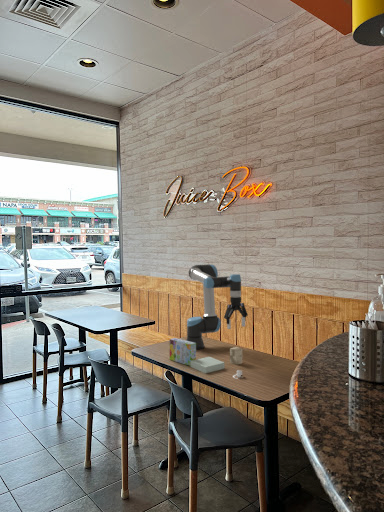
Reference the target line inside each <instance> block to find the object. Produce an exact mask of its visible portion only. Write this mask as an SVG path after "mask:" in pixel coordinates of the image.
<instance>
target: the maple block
mask: <svg viewBox="0 0 384 512" xmlns="http://www.w3.org/2000/svg"><path fill="white" fill-rule="evenodd" d="M229 363H230V364H232V365H235V366H238V365H241V364H243V348H240V347H238V346H234V347H231V348H229Z"/></svg>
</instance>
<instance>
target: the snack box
mask: <svg viewBox="0 0 384 512" xmlns="http://www.w3.org/2000/svg"><path fill="white" fill-rule="evenodd" d="M169 360H170V361H172V362H176V363H180V364H182V365H186V366H190V367H191V361H192V360H197V350H196V343H194V342H190V341H186V340H185V339H181V338H177V337H172V338H169Z"/></svg>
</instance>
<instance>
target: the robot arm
mask: <svg viewBox="0 0 384 512" xmlns="http://www.w3.org/2000/svg"><path fill="white" fill-rule="evenodd" d="M188 277H189V278H190V279H191V280H193V281H198V282H200V283H202V290H203V294H202V295H203V308H204V310H203V311H204V313H203V315H202V316H191V317H189V318H187V320H186V338H185V339H186V341H190V342H194V343H196V351H198V350H202V349H204V348H205V343H204V340H203V334H210V333H211V334H212V333H218V332H219V330H220V328H221V318H220V317H218V314H217V313H216V303H215V289H219V288H229V297H230V298H229V302H230V304H227V307H226V311H225V313H224V315H223V318H224V319H225V320H226V326H227V328H226V329H228V330H231V329H232V326H231V317H232V316H233V313H234V312H236V311H238V312H239V313H240V315H241V327H246V321H247V320H246V319H247V317H248V316H249V314H248V311H247V309H246V307H245V303H244V302H242V277H241V274H240V273H239V274H238V273H233V274H229V275H228V276H219V274H218V268H217V267H216V265H214V264H194V265H193V266H191V267H190V268H189V270H188Z"/></svg>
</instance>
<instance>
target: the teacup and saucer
mask: <svg viewBox="0 0 384 512" xmlns="http://www.w3.org/2000/svg"><path fill="white" fill-rule="evenodd" d="M241 375H243V370H241V369H237V370H236V374H233V375H232V378H234V379H235V380H239V379H238V378H242V376H241Z"/></svg>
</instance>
